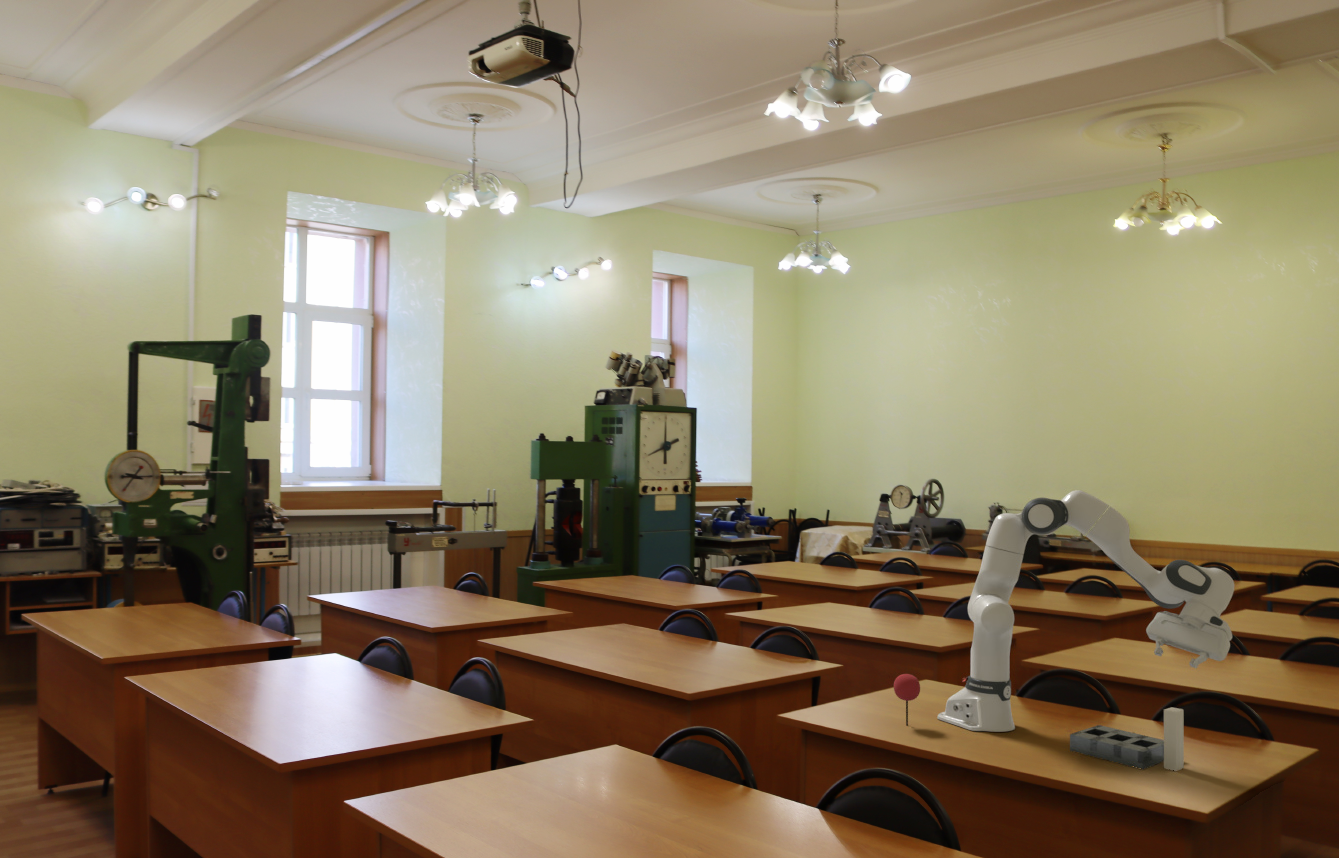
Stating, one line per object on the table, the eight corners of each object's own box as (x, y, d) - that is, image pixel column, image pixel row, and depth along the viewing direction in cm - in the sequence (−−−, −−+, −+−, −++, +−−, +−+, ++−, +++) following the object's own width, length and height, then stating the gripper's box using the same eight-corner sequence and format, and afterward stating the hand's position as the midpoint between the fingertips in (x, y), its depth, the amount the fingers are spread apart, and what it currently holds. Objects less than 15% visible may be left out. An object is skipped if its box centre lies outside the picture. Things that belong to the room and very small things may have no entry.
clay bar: (1176, 771, 242) (1175, 712, 243) (1163, 768, 245) (1163, 709, 245) (1183, 767, 245) (1183, 709, 246) (1171, 764, 247) (1171, 707, 248)
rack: (1142, 769, 243) (1142, 751, 243) (1069, 750, 258) (1070, 734, 259) (1170, 758, 253) (1170, 741, 253) (1098, 740, 268) (1098, 724, 269)
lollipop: (917, 722, 285) (918, 671, 285) (921, 729, 277) (922, 677, 278) (891, 721, 285) (892, 670, 286) (895, 728, 278) (895, 676, 278)
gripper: (1156, 602, 265) (1133, 640, 261) (1233, 624, 249) (1210, 666, 244) (1162, 616, 268) (1139, 654, 264) (1239, 638, 252) (1216, 680, 247)
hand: (1174, 660), depth 254 cm, fingers open, 8 cm apart
